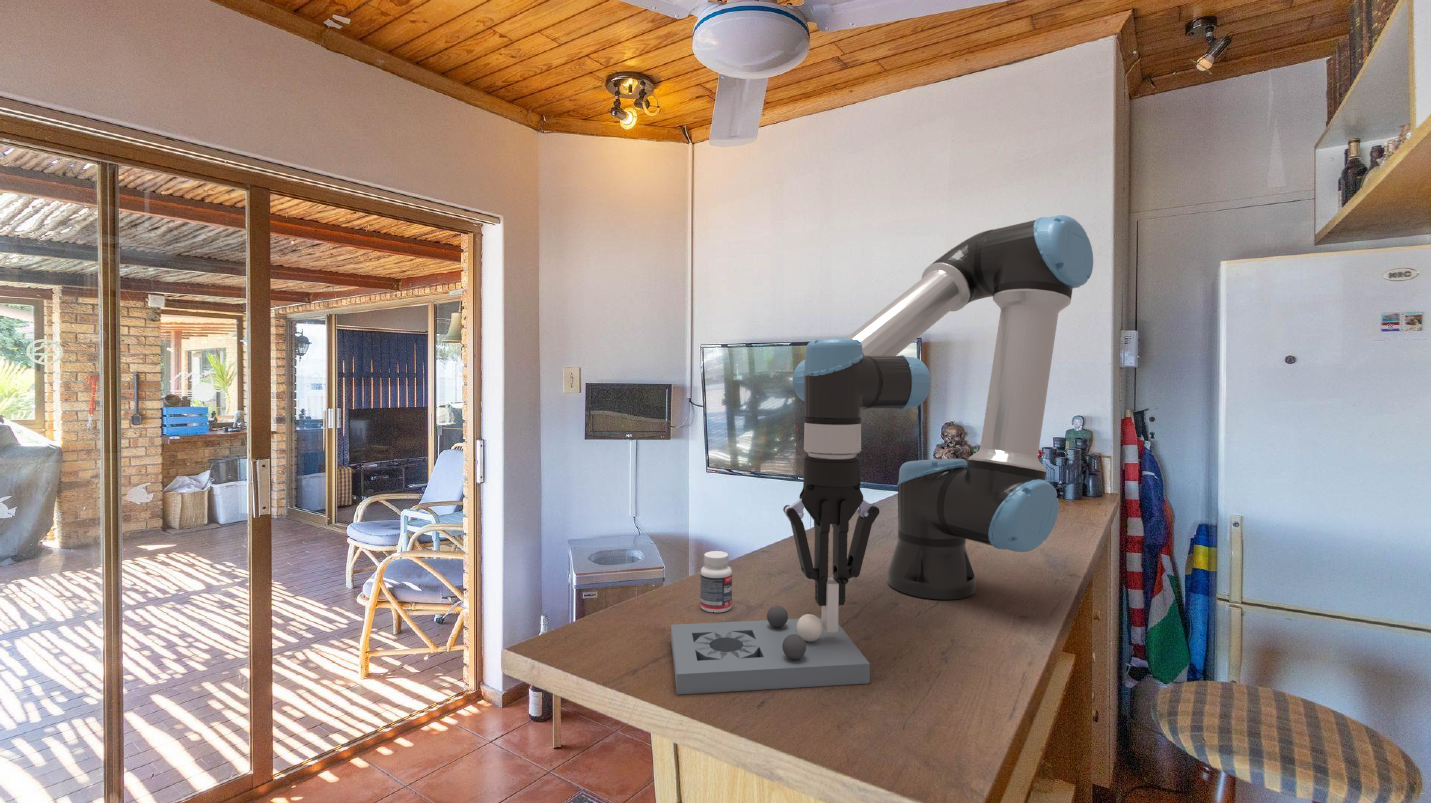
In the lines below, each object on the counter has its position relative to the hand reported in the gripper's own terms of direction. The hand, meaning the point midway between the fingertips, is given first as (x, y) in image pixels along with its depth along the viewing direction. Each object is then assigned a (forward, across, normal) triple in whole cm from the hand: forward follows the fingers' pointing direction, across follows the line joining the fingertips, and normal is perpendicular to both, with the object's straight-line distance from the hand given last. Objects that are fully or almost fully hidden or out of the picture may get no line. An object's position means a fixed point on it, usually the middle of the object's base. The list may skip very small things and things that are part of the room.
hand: (829, 628), depth 85 cm
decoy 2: (0, +6, +5) cm, 8 cm away
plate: (+4, +9, 0) cm, 10 cm away
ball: (0, +3, 0) cm, 3 cm away
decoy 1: (0, +6, -5) cm, 8 cm away
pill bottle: (+4, +13, -20) cm, 24 cm away
